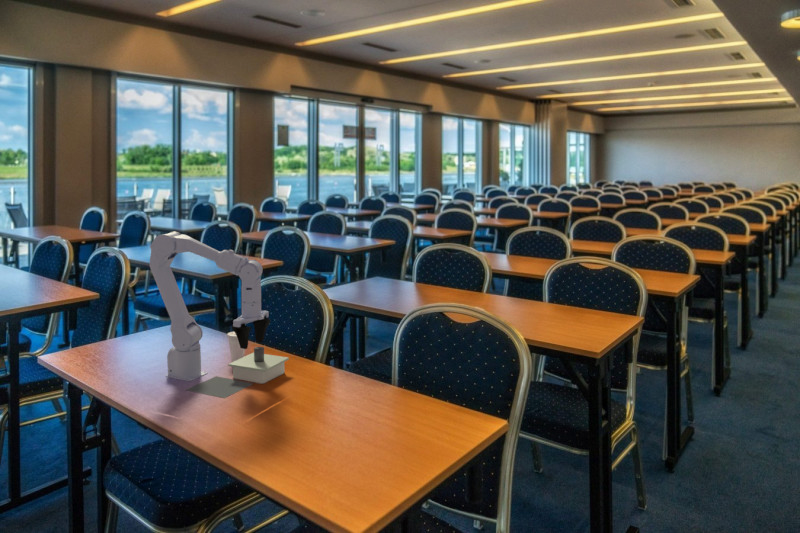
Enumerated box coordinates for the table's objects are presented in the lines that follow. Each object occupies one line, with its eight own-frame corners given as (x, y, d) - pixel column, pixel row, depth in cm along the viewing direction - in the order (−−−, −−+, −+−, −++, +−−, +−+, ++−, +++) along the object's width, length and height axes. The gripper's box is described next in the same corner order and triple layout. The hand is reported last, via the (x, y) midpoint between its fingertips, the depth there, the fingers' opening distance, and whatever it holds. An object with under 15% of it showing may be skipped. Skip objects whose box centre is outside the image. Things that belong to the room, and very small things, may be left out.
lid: (228, 365, 179) (227, 351, 178) (253, 354, 191) (253, 340, 190) (265, 371, 174) (265, 356, 174) (288, 359, 186) (288, 345, 186)
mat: (185, 391, 170) (185, 389, 170) (216, 377, 182) (216, 376, 182) (224, 399, 165) (224, 398, 164) (253, 384, 176) (253, 383, 176)
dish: (232, 379, 181) (232, 365, 180) (255, 368, 190) (255, 355, 190) (262, 385, 176) (262, 370, 175) (284, 374, 186) (284, 360, 185)
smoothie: (242, 365, 193) (241, 323, 191) (224, 364, 195) (223, 322, 192) (251, 359, 199) (250, 319, 197) (233, 358, 201) (232, 317, 199)
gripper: (246, 307, 170) (247, 353, 173) (276, 298, 184) (276, 341, 186) (227, 304, 173) (227, 349, 175) (257, 295, 186) (258, 338, 188)
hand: (251, 345), depth 181 cm, fingers open, 7 cm apart
